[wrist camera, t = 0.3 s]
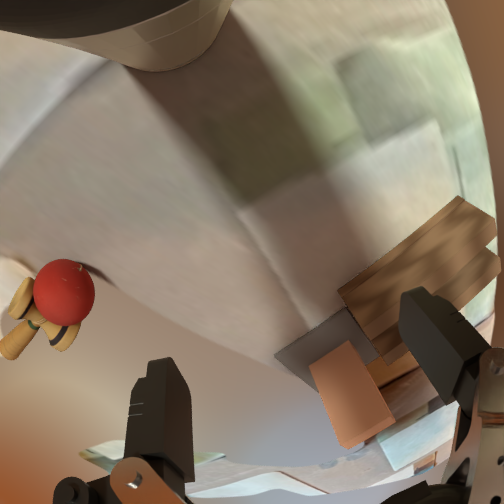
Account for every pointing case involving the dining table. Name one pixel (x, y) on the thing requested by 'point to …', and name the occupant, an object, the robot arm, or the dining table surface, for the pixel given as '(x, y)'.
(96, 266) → the dining table surface
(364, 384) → the block
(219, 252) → the dining table surface
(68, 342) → the kendama
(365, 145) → the dining table surface
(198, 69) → the dining table surface
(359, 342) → the mat
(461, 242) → the rack
